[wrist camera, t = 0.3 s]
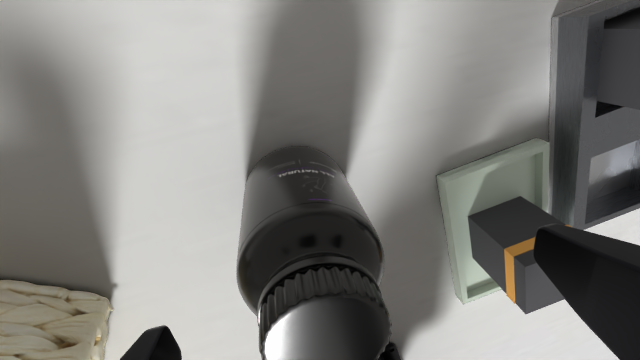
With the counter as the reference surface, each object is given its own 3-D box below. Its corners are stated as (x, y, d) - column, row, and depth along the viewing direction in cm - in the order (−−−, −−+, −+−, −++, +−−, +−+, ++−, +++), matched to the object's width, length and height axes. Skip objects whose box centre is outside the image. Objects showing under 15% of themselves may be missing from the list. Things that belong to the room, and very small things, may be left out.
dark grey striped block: (522, 239, 27) (587, 290, 22) (472, 258, 27) (525, 314, 22) (521, 195, 25) (592, 240, 20) (467, 215, 25) (524, 266, 20)
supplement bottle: (311, 122, 20) (375, 228, 9) (359, 199, 23) (448, 345, 12) (221, 179, 21) (184, 341, 10) (280, 247, 24) (300, 427, 13)
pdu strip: (632, 184, 27) (665, 198, 25) (546, 217, 27) (572, 234, 25) (668, -26, 20) (719, -33, 18) (551, 17, 20) (589, 16, 18)
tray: (535, 263, 30) (546, 272, 29) (455, 294, 29) (463, 304, 28) (536, 137, 24) (549, 142, 23) (436, 175, 23) (444, 182, 22)
